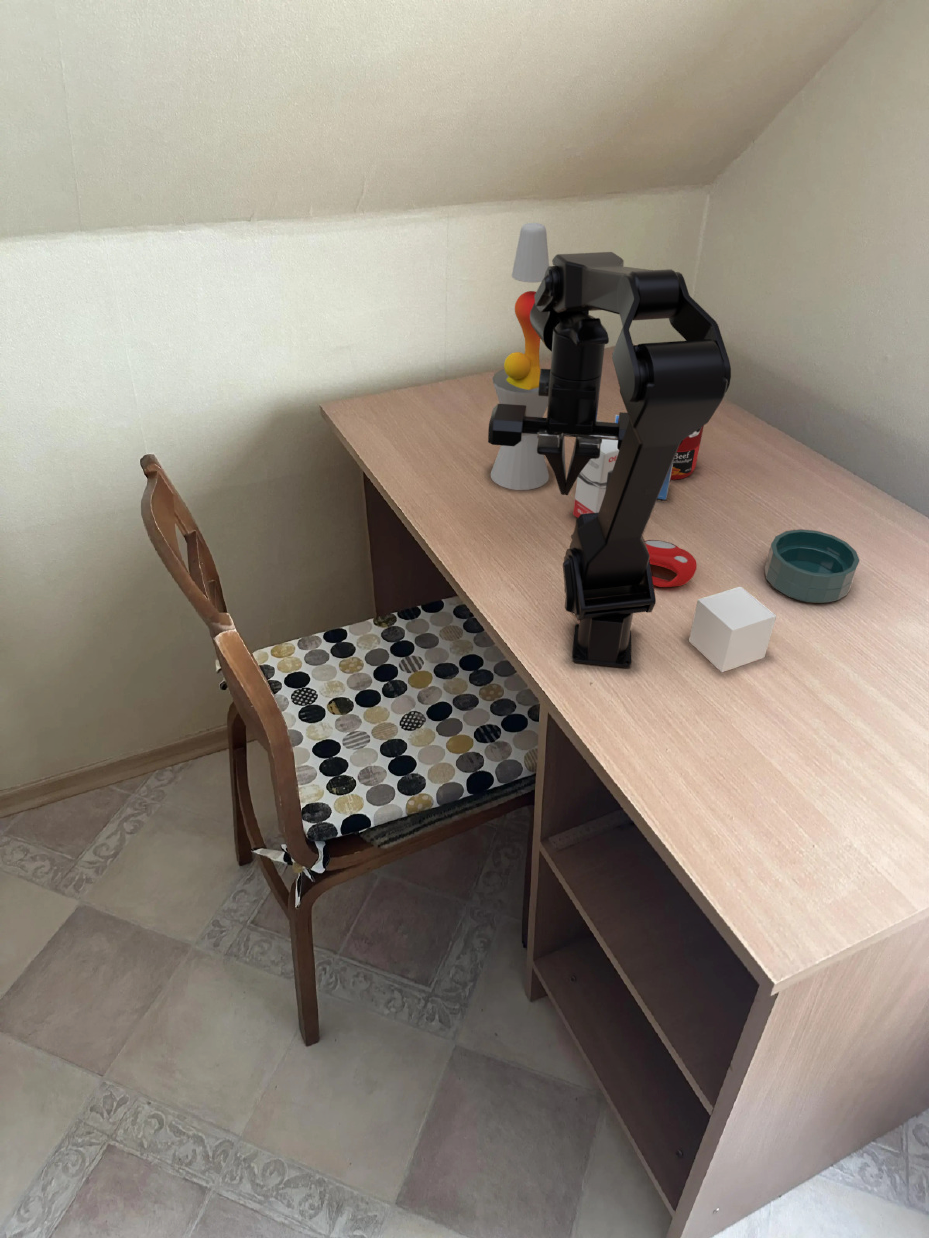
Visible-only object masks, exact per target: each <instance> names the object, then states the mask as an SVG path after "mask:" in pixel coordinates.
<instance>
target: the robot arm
mask: <svg viewBox="0 0 929 1238" xmlns="http://www.w3.org/2000/svg"><path fill="white" fill-rule="evenodd" d="M624 262H625V260H624V259H623V258H622V257H621V256H619V255H617V254H616V253H614V252H613V251H599V252H598V251H597V252H577V253H558V254H555V256H554V257H553V258H552V260H551V263H552V265H549V267H548V268H547V270H546V273H545V276H544V278H543V280H542V282H540V284H539V286H538V288H537V289H536V291H535V292H536V293H535V295H534V297H535V303H534V305H533V307H532V310H531V311H530V322H531V325H532V327H533V329H534V330H535V331H536V333H537V334H538V336H539V337H540V341H541V342H542V343H543V345H544V346H545V347H546V349H548V350H549V351H550V352H551V359H550V368H540V369H541V370H540V379H539V390H538V395H539V396H546V397H548V407H547V409H546V417H543V418H542V417H528V416H526V410H527V409H526V405H512V404H500V403H497V404H496V405H495V406H494V407H493V408H492V411H491V415H490V418H489V422H488V430H487V433H488V434H487V436H488V437H487V442H488V444H490V445H491V446H500V447H501V446H515V445H517V444H518V443H519V442H521V440H522V433H527V434H538V435H537V438H539V440H538V445H537V453H538V454H540V455H544V457H545V459H546V460H547V462H548V464H549V466H550V467H551V469H552V472H553V475H554V477H555V480H556V483H557V486H558V489H559V492H560V495H561V496H569V494H570V492H571V490H572V489H573V487H574V485H575V483H576V482H577V477H578V476H579V474H580V472H581V471H582V470H583V468H584V467H585V466H586V465H587V463H588V462H589V461H590V459H598V458H599V457H600V448H601V443H602V439H607V440H618V444H617V448H618V450H619V453H618V456H617V459H616V462H615V465H614V468H613V471H612V474H611V477H610V480H609V483H608V486H607V489H606V492H605V495H604V498H603V501H602V504H601V507H600V510H599V512H598V513H587V514H581V515H580V516H579V517H578V518H577V517H576V518H577V519H575V526H574V530H573V532H572V534H571V535H570V539H571V542H570V545H569V548H567V549H566V551H565V554H564V556H563V562H562V573H563V584H564V586H563V587H564V594H565V596H564V597H565V598H564V599H565V600H564V610H565V611H566V612H568V613H571V614H572V615H574V617H575V619H576V621H577V622H578V623H575V624H574V629H573V641H572V642H573V643H572V654H571V655H572V656H571V661H572V662H573V663H576V664H586V665H595V666H603V667H605V666H606V667H613V668H623V669H629V668H631V667H632V623H633V617H634V614H639V613H640V614H641V613H652V612H653V610H654V607H655V606H656V604H657V600H656V593H655V587H654V586H655V585H653V580H652V576H653V573H652V567H651V564H650V561H649V558H650V555H649V552H648V549H647V547H646V544H645V541H646V540H645V538H644V532H645V530H646V527H647V525H648V522H649V520H650V518H651V515H652V513H653V510H654V508H655V505H656V503H657V501H658V499H657V498H658V496H659V493H660V491H661V488H662V486H663V484H664V481H665V479H666V476H667V474H668V471H669V469H670V467H671V464H672V462H673V459H674V457H675V454H676V452H677V449H678V447H679V445H680V442H681V441H682V440H684V439H685V438H686V437H688V436H689V435H691V434H692V433H694V432H695V431H697V430H698V429H700V428H701V427H702V426H704V427H705V425H707V424H708V423H709V422H710V421H711V419H712V417H713V416H714V414H715V413H716V411H717V409H718V408H719V406H720V405H721V403H722V401H723V399H724V397H725V395H726V393H727V392H728V389H729V387H730V384H731V379H732V367H731V363H730V362H731V361H730V359H729V355H728V353H727V348H726V346H725V343H724V339H723V336H722V333H721V329H720V327H719V324H718V322H717V321H716V320H715V319H714V318H713V317H712V316H711V315H710V314H709V313H708V312H707V311H706V310H705V309H704V308H703V307H702V306H701V305H700V304H699V303H698V302H697V301H696V300H695V299H694V298H692V296H691V295H690V293H689V290H688V287H687V283H686V280H685V277H684V275H683V274H682V273H681V272H680V271H675V270H673V269H672V268H670V269H646V268H639V267H630V266H624ZM593 311H594V312H595V311H603V312H604V311H605V312H608V313H612V314H616V315H619V318H620V322H621V325H622V328H621V330H620V333H619V335H618V338H617V341H616V344H615V346H614V348H613V351H612V354H611V359H612V363H613V367H614V370H615V375H616V378H617V382H618V386H619V394H620V397H621V399H622V402H623V404H624V407H625V410H626V412H621V411H620V412H618V415H619V418H618V423H615V422H609V421H603V420H601V419H598V412H599V411H598V410H599V404H600V403H599V401H600V393H601V384H602V383H601V382H602V374H603V373H602V372H603V365H604V355H605V348H606V345H608V344H609V342H610V337H609V334H608V331H607V329H606V327H605V326H604V324H603V323H602V321H601V318H600V317H594V316H593V315H590V312H593ZM664 319H665V320H666V319H668V321H669V324H670V325H671V327H672V328H673V329H674V330H675V331H676V332H677V333H678V334H679V335H680V336H681V337H682V338H683V339H684V340H675V341H674V340H673V341H660V342H646V343H645V342H644V343H638V344H634V342H633V339H632V335H631V331H630V328H631V325H632V323H633V321H647V320H664ZM566 437H570V438H575V439H574V442H573V443H574V444H573V449H572V453H571V458H570V462H569V466H568V470H566V451H565V448H566V447H565V445H566V444H565V442H566V441H565V440H566V439H565V438H566Z"/></svg>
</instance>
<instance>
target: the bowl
mask: <svg viewBox="0 0 929 1238" xmlns="http://www.w3.org/2000/svg"><path fill="white" fill-rule="evenodd" d="M859 564H860V557H859V555H858V552H857V550H856V549H855V548H853V547H852V546H851V544H849V543H848V542H847V541H846V540H843V539H841V538H839V537H837V536H835V535H833V534H830V533H828V532H827V533H826V532H823V531H819V530H815V529H802V528H801V529H799V528H797V529H792V530H785V531H783V532H781V533H779V534H777V535H775V536H774V538H773V540H772V542H770V546H769V549H768V554H767V557H766V561H765V565H764V574H765V580H767V582H768V583H769V584H770V585H771V586H772V587H773V588H774V589H776V590H777V591H779V592H780V593H781V594H783V595H785V596H786V597H788V598H790V599H793V600H796V601H800V602H804V603H810V604H825V603H831V602H837V601H839V600H841V599H842V598H844V597H846V596H847V595H848V594H849V592H850V589H851V587H852V585H853V581H854V578H855V576H856V572H857V569H858V567H859Z"/></svg>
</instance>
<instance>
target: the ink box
mask: <svg viewBox="0 0 929 1238" xmlns="http://www.w3.org/2000/svg"><path fill="white" fill-rule="evenodd" d="M617 444H618V440H607V439H602V443H601V448H600V457H599V458H598V459H590V461H589V462H588V463H587V465H586V466H585V467H584V468H583V470H582V471H581V472H580V474H579V476H578V477H577V479H576V487H575V495H574V502H573V512H572V515H573V516H574V517H576V518H578V517H579V516H580V515H581V514H587V513H598V512H599V510H600V507H601V504H602V501H603V498H604V495H605V492H606V489H607V486H608V483H609V480H610V477H611V474H612V471H613V468H614V465H615V462H616V459H617V456H618V453H619V450H618V448H617Z"/></svg>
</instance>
